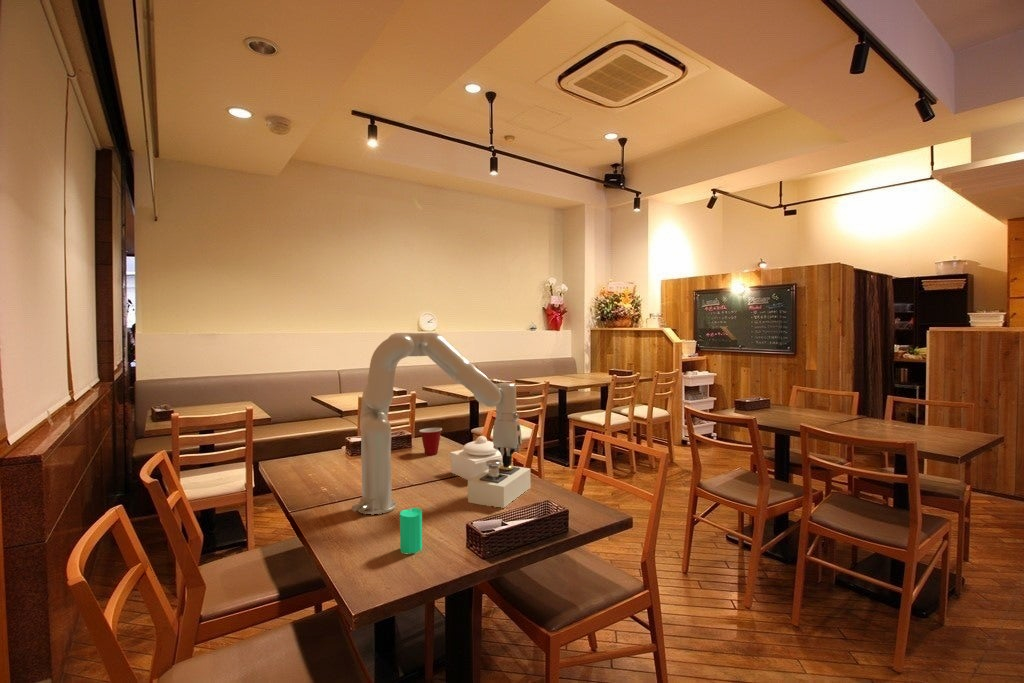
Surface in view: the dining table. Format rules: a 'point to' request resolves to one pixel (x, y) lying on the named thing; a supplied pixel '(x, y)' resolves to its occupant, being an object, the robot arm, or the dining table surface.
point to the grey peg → (493, 468)
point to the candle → (411, 530)
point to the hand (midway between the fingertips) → (507, 465)
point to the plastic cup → (431, 440)
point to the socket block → (499, 487)
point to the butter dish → (474, 458)
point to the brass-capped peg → (506, 468)
